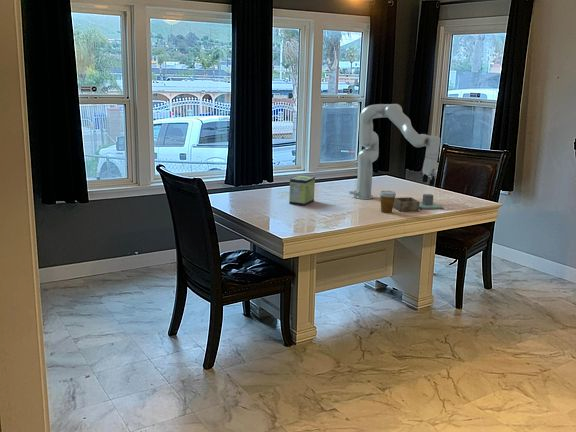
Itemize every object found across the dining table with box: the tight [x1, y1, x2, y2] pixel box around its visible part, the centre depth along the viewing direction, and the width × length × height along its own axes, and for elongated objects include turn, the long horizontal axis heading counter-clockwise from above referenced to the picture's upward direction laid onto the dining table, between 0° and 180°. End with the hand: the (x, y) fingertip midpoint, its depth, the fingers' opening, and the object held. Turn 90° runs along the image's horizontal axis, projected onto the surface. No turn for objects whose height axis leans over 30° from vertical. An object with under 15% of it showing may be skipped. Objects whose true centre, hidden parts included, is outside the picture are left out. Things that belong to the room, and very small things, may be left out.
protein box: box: [288, 174, 316, 207], centre depth 362 cm, size 10×16×16 cm
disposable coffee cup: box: [379, 190, 397, 214], centre depth 346 cm, size 10×10×12 cm
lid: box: [419, 193, 443, 209], centre depth 363 cm, size 13×13×7 cm
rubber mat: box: [419, 207, 445, 211], centre depth 364 cm, size 15×15×1 cm
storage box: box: [393, 196, 421, 213], centre depth 354 cm, size 12×12×6 cm
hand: (428, 183), depth 360 cm, fingers open, 9 cm apart
